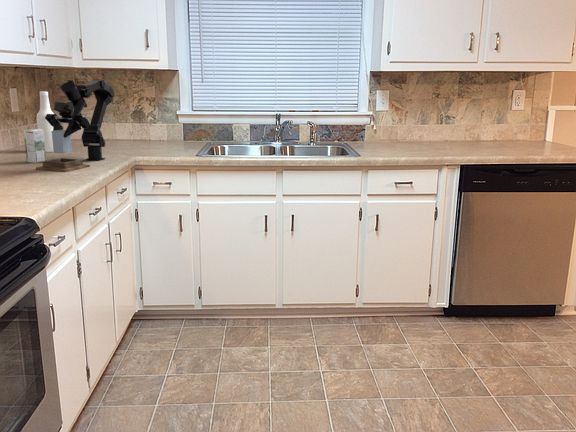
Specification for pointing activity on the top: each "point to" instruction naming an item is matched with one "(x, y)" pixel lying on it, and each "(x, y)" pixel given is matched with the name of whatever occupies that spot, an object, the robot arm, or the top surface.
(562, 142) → the top surface
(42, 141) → the syrup box
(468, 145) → the top surface
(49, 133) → the alcohol
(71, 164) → the cradle
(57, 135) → the block
